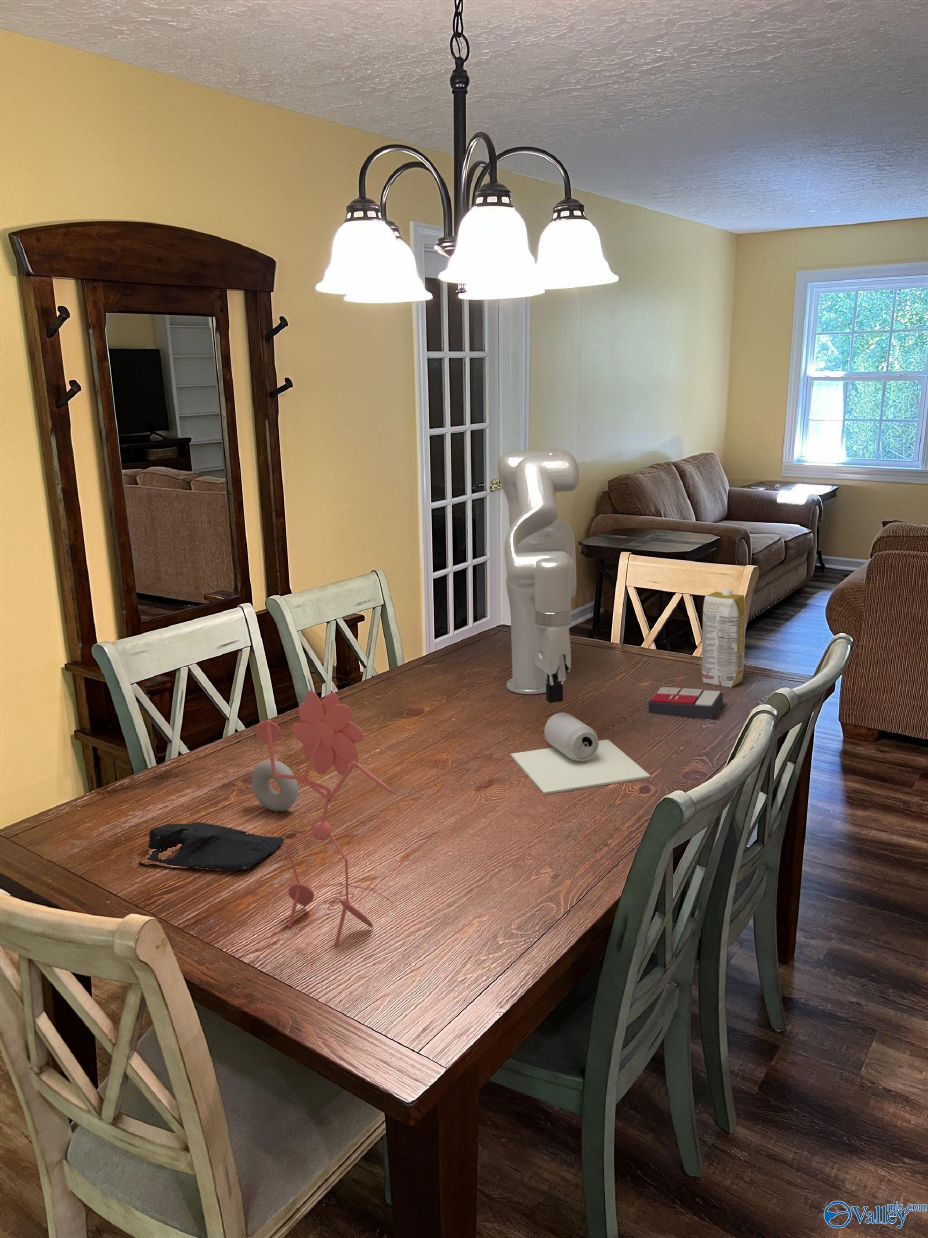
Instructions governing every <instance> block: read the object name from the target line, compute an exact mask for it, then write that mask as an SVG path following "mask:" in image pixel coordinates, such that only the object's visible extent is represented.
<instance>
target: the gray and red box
mask: <svg viewBox="0 0 928 1238" xmlns="http://www.w3.org/2000/svg"><path fill="white" fill-rule="evenodd" d="M723 693H724V692H721V691H720V690H703V689H702V688H700V689H699V688H685V687H684V688H680V687H671V686H670V687H668V686H661V687H660V688H659V690H657V692H656V693H655V694H654V695H653V696H652V698H651V699H650V700H649V701H648V713H649V714H653V715H664V716H669V717H671V716H673V717H679V716H680V717H683V718H693V719H695V718H699V719H698V720H703V719H711V720H713V719H714V718H715V717H716V718H717V716H718V715H717V714H719V713H720V711H721V710H722V708H723V707H722V706H724V703H723V702H724V697H723V695H724V694H723ZM721 707H722V708H721ZM720 709H721V710H720ZM719 710H720V711H719ZM718 712H719V713H718ZM716 715H717V716H716ZM716 718H715V719H716ZM715 719H714V720H715ZM711 720H710V721H711ZM714 720H713V721H714Z"/></svg>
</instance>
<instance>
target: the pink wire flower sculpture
mask: <svg viewBox="0 0 928 1238" xmlns="http://www.w3.org/2000/svg"><path fill="white" fill-rule="evenodd" d="M298 713H299V718H300V720H301V722H295V723H292V725H291V728H290V730H291V733H292V735H293V736H294V737H295V739H296V740H297V741H298V742H299V743H301V744H302V749H301V751H302V755H303V756H304V757H305V758H308V759H309V761H308V763H307V765H306V767H305V770H304V772H303V775H295V774H294V775H283V774H275V773H276V771H275V763H274V760H275V755H274V754H275V753H274V747H273V743H274V742H277V741H278V740H280V737H281V735H282V730H281V728H280V727H279V725H278V724H277V723H275V722H272V721H271V719H266V720H262V721H260V722H259V723H258V724H256V725H255V729H254V733H255V735H256V737H257V738H258V739H259V740H260V741H262V742H263V743H264V744H265V745H268V748H269V749H268V750H269V760H271V769H272V774H274V775H273V778H285V779H296V780H297V781H298V780H299V783H300V784H305V785H307V787H309V788H310V789H312V790H313V791H314V792H316V794H318V795H319V796H321V797H322V798H323V799H325V803H324V808H323V813H322V814H323V815H322V820H320V821H317V822H316V823H314V825H313V827H312V832H309V833H306V834H305V835H304V836H301V837H299V838H297V839H295V840H294V841H292V842H290V843H287V844H286V851H287V853H288V857H289V860H290V863H291V866H292V869H293V872H294V876H295V877H294V878H295V880H296V883H293V884H291V885H290V887H289V888H288V892H287V893H288V896H289V897H290V898H291V900H292V901H293V903H292V907H291V911H290V915H289V920H288V924H287V927H288V928H292V926H293V923H294V919H295V914H296V909H297V905H298V904H299V905H300V906H302V907H304V908H305V907H307V906H308V905H310V904H311V903H312V902H313V901H314V898H315V893H314V891H313V889H312V888H319V887H329V886H333V887H334V884H326V885H324V884H323V885H315V886H309V885H306V884H304V883H302V882H301V881H300V878H299V874H298V872H297V868H296V865H295V861H294V858H293V855H292V850H291V848H290V846H292V845H294V844H297V843H299V842H300V841H302V840H305V839H306V838H309V837H310V836H313V837H314V839H316V840H318V841H325V840H327V839H328V838H330V839H331V841H332V842H333V844H334V846H335V847H336V848H337V850H338V852H339V853H340V855H341V857H342V859H343V860H344V867H345V871H344V872H345V873H344V874H345V875H344V876H345V884H343V882H336V885H341V886H345V900H344V899H341V898H340V899H339V901H338V902H339V904H340V905H341V906H342V911H341V915H340V919H339V924H338V928H337V932H336V936H335V941H334V946H336V947H337V946H339V944H340V938H341V935H342V931H343V925H344V922H345V918H346V913H347V911H348V912H349V913H350V914H351V915H352V916H354V917H355V918H356V919H358V920H359V921H361V922H362V923H364V924H366V926H368V927H369V928H371V929H372V928H374V925H373V923H372V922H371V921H370V919H369V918H368V917H367V916H366V915H365V914H363V912H361V910H359V909H357V908H356V907H355V906H353V905H352V904H351V901H349V887H355V888H361V889H365V890H369V891H372V892H374V893H376V894H378V895H380V896H382V897H384V898H386V899H388V901H389V902H391V903H392V904H394V902H393V901H392V900H391V899H389V897H387V896H385V895H384V894H382V893H381V892H378V891H376V890H375V888H373V887H370V886H367V885H365V887H363V886H357V885H351V884H349V863H348V858H347V857H346V855H345V854H344V852H343V850H342V849H341V847H340V846H339V844H338V842H337V840H336V839H335V837H334V836H333V834H332V826H331V825H330V824H329V823H328V822H327V821H326V816H327V813H328V808H329V804H330V803H331V802H332V800H333V798H335V796H336V794H338V791H339V790H340V789H341V787H342V786H343V784H344V783H345V781H346V780H347V778H348V777H349V775H351V772H352V771H353V770H354V768H357V769H358V770H359V771H361V772H362V773H363V774H365V775H366V776H367V777H368V778H369V779H371V780H372V781H373V782H374V783H376V784H377V785H379V786H380V787H382V788H383V789H384V790H385V791H387V792H389V793H391V794H393V795H394V794H395V791H394V790H393V789H392V788H390V787H389V786H388V785H387V784H386V783H384V782H383V781H382V780H381V779H379V778H378V777H377V776H376V775H375V774H373V773H372V772H370V771H369V770H368V769H366V768H365V767H364V766H363V765H361V764H360V763H359V760H360V756H359V752H358V749H357V747H356V745H355V744H357V743H361V742H362V741H364V736H365V735H364V733H363V732H362V730H361V728H360V727H359V725H357V724H355V723H354V722H353V721H351V718H352V717H353V710H352V708H351V707H350V706H349V705H347V704H345V703H344V704H343V703H340V700H339V696H338V695H337V693H336V692H330V693H328V694H327V695H325V697H324V698H323V699H322V700H320V698H319V696H318V694H317V693H316V692H315V691H314V690H308V692H307V693H306V695H305V699H304V702H301V703H300V704H299V705H298ZM312 765H313V767H314V771H315V772H316V774H318V775H321V776H322V775H324V774H326V773H328V771H329V770H330V769H331V768H334V770H335V771H336V773H337V774H339V775H340V776H341V778H340V780H339V781H338V783H337V784H336V786H335V787H334V789H333V791H332V790H331V788H330V787H328V786H326V785H323V784H320V783H317V782H315V781H311V780H309V779H308V776H309V773H310V771H311V768H312ZM332 766H333V767H332ZM321 790H324V791H326V793H324V792H323V791H321ZM372 956H374V953H372V954H370V955H369V956H366V957H364V958H362V961H364V960H366V959H368V958H370V957H372Z"/></svg>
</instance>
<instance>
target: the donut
mask: <svg viewBox="0 0 928 1238" xmlns="http://www.w3.org/2000/svg"><path fill="white" fill-rule="evenodd" d="M274 763H275V771H276V773H275V774H283V775H294V776H295V774H294V773H293V771H292V770H291V769H290V767H289V766H287V765H286V764H285V763H284V762H282V761H279V760H277V759H274ZM273 775H274V774H272V769H271V760H270V759H267V760H265V761H262V762H259V764H258V765H257V766H255V768H254V770H253V772H252V775H251V786H252V792H253V795H254V796H255V798H256V799H257V801H258V802H259V803H260V805H262V806H263V807H264V808H265V809H267V810H269V809H270V811H272V810H273V811H272V812H279V811H282V812H284V811H287V810H289V809H290V808H291V807H293V806H294V804H295V803H296V801H297V799H298V796H299V784H298V780H296V779H285V778H273ZM271 779H273V780H274V781H276V783H277V785H278V787H279V793H278V792H276V791H275V790H274V789H273V788H272V786H271V783H270V781H271Z"/></svg>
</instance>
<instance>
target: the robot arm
mask: <svg viewBox="0 0 928 1238" xmlns="http://www.w3.org/2000/svg"><path fill="white" fill-rule="evenodd" d="M497 475H498V480H499V483H500V485H501V488H502V491H503V494H504V495H505V498H506V501H507V505H508V519H509V520H508V521H509V525H508V526H509V529H508V532H507V533H506V537H505V540H504V547H503V548H504V549H503V550H504V561H505V569H506V577H505V578H506V579H505V583H506V584H505V586H506V591H507V597H508V604H509V612H510V629H511V631H510V633H511V634H510V636H511V638H510V639H511V640H510V641H511V663H512V664H511V665H512V666H511V667H512V668H511V671H512V677H511V678H510V679H509V680H508V681H507V682H506V688H507V689H508V690H509V691H511V692H512V693H517V694H521V695H522V694H523V695H538V694H545V695H546V697H545V700H546V701H547V702H548V703H549V704H554V703H561V702H563V701H564V686H563V685H564V681H567V677H566V676H567V674H569V673H570V672H571V668H572V649H571V647H572V646H571V637H570V636H571V635H570V626H571V625H572V600H574V598H575V597H576V594H577V582H578V581H577V561H576V560H577V559H576V539H575V533H574V530H573V527H572V525H571V524H570V523H569V522H568V521H566V520H558V516H559V507H558V502H557V495H556V493H558V492H561V493H562V492H563V493H566V492H572V491H575V490H576V489H577V488H578V486H579V482H580V469H579V464H578V462H577V460H576V458H575V457H574V455H573V454H572V453H571V452H569V451H568V450H565V449H564V448H563V449H560V448H559V449H558V448H557V449H534V450H533V449H531V450H530V449H529V450H527V449H526V450H516V451H515V450H514V451H509V452H506V453H503V454H501V456H500V457H498V459H497Z"/></svg>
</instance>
